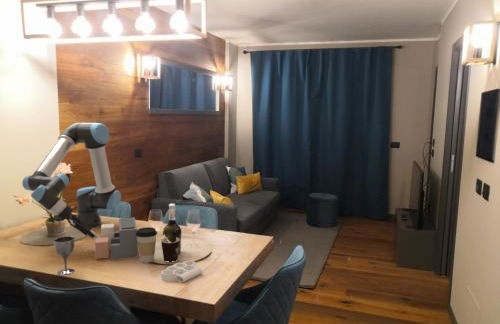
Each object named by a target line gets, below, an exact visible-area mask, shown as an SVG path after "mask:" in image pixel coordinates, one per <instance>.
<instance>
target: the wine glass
mask: <svg viewBox="0 0 500 324" xmlns="http://www.w3.org/2000/svg"><path fill="white" fill-rule="evenodd" d="M53 241H54V242H53V243H54V244H53V245H54V250H55V253H57V255H58V256H60V257H61V259H62V260H63V262H64V263H63V264H64V268H63V269H60V270H58V271H57V272H56V275H58V276H67V275H71V274H73V273H75V271H76V270H75V269H74V268H68V266H67V265H68V264H67V263H68V259H69V256H70V255H71V254H72V253H73V251H74V250H75V249H74V247H75V237H74V236H72V235H69V236H68V235H66V236H65V235H64V236H59V237H56V238H54V240H53Z"/></svg>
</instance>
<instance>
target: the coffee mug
mask: <svg viewBox="0 0 500 324" xmlns="http://www.w3.org/2000/svg"><path fill="white" fill-rule="evenodd" d="M167 238H168V237H164V238H162V239H160V240H161V241H160V242H161V250H162V256H163V261H169V262H172V261H176V260H177V259H178V260H179V258H178V256H179V249H180V248H179V247H180V237H176V241H175V242H173V243H168V241H167ZM178 260H177V261H178ZM177 261H176V262H177Z"/></svg>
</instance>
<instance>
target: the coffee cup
mask: <svg viewBox="0 0 500 324" xmlns="http://www.w3.org/2000/svg"><path fill="white" fill-rule="evenodd" d="M157 235H158V232H157V230H156V228H155V227H148V226H147V227H141V228H138V229H137V232H136V236H137V251H138V254H139V255H138V256H139V262H140V263H142V264H148V263H149V262H150V263H152V262H151V261H153V260H154V261H155V253H156V243H157ZM154 261H153V262H154Z"/></svg>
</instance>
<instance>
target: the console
mask: <svg viewBox="0 0 500 324" xmlns="http://www.w3.org/2000/svg"><path fill="white" fill-rule="evenodd" d="M118 226H119V229H118V231H114V238H111V254H110V255H111V260H122V259H132V258H138V256H139V255H138V254H139V251H138V244H137V236H136V232H137V230H138V229H137V228H138V227H137V222H136V218H135V217H133V216H132V217H122V218H118Z"/></svg>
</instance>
